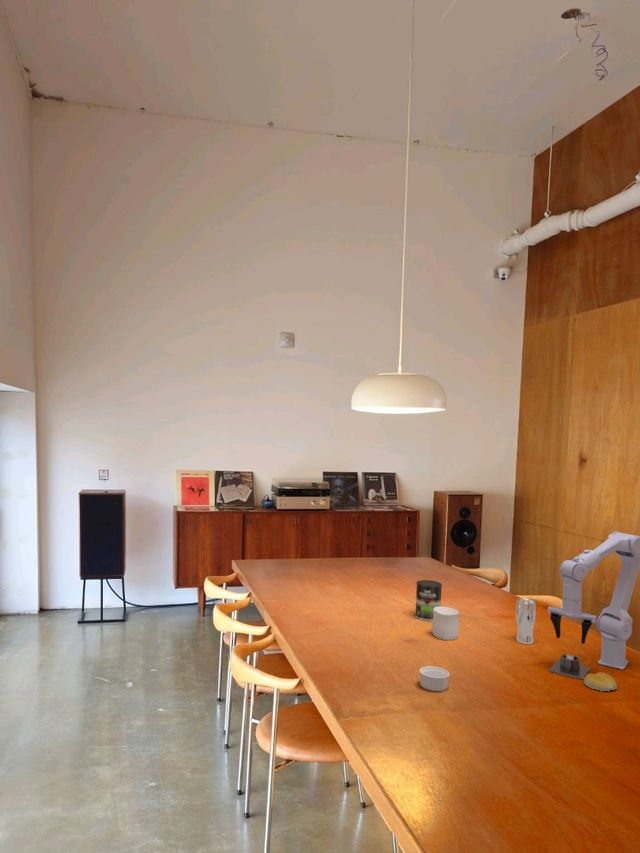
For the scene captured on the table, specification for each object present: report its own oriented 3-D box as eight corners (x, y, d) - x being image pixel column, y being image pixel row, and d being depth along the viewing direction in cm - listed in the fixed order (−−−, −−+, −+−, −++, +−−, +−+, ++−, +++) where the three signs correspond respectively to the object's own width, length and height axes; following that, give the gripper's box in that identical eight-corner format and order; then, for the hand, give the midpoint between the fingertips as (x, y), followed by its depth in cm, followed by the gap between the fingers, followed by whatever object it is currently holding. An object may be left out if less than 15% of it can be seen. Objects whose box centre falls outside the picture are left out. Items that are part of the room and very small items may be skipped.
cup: (451, 642, 217) (452, 615, 217) (426, 636, 223) (427, 610, 223) (462, 636, 225) (463, 610, 225) (438, 630, 231) (439, 604, 231)
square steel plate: (557, 661, 202) (558, 647, 202) (589, 669, 196) (590, 654, 196) (549, 671, 193) (549, 656, 193) (582, 680, 187) (582, 664, 187)
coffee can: (439, 622, 240) (440, 587, 240) (413, 619, 243) (414, 584, 243) (441, 615, 250) (443, 581, 250) (417, 612, 253) (418, 579, 253)
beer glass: (519, 636, 226) (520, 597, 226) (537, 641, 222) (538, 600, 222) (511, 641, 221) (513, 600, 221) (530, 646, 217) (532, 604, 217)
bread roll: (578, 682, 186) (578, 669, 186) (602, 680, 188) (603, 668, 188) (596, 694, 178) (597, 680, 178) (622, 692, 180) (622, 678, 180)
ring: (563, 663, 199) (563, 652, 199) (581, 668, 195) (581, 657, 195) (558, 668, 194) (558, 657, 194) (576, 673, 191) (577, 662, 191)
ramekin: (428, 677, 185) (428, 663, 185) (454, 686, 179) (454, 671, 179) (413, 686, 178) (413, 671, 178) (439, 695, 173) (440, 680, 173)
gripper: (545, 596, 196) (544, 638, 196) (593, 605, 188) (591, 648, 187) (551, 592, 202) (550, 632, 202) (598, 600, 193) (596, 642, 193)
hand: (570, 640), depth 195 cm, fingers open, 7 cm apart
